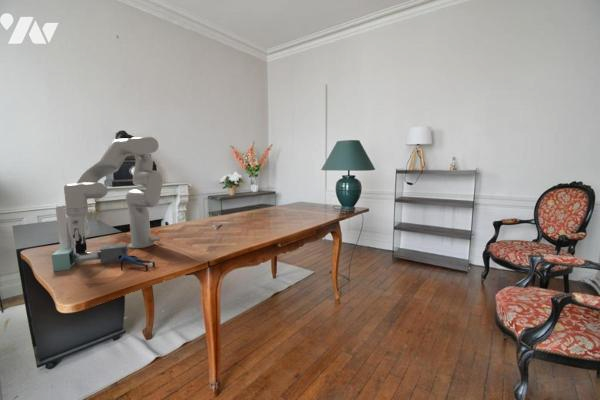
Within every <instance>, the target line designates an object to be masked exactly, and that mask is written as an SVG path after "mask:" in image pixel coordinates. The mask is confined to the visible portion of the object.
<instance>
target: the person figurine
mask: <svg viewBox="0 0 600 400" xmlns="http://www.w3.org/2000/svg"><path fill="white" fill-rule="evenodd" d="M118 258H119V259H120V260H121V262H120V270H121V271H123V270H124V269H123V263H131V264H132V265H135V266H142V267H144V268H145V271H146V272H147V271H149V267H151V268H155V267H156V262H155V261H151V260H147V259H145V260H144V259H141V258H138V256H136V255H129V254H128V255H126V256H121V255H119V256H118ZM146 263H147V264H146Z"/></svg>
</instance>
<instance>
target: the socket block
mask: <svg viewBox="0 0 600 400" xmlns="http://www.w3.org/2000/svg"><path fill="white" fill-rule="evenodd" d="M69 254H74V248H65V249H60V248H57V250H56V251H54V253H52V254H51V260H52V270H53V272H59V271H65V270H66V271H67V270H71V269H72V267H73V266H74V265H75V263H70V255H69Z"/></svg>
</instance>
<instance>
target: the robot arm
mask: <svg viewBox="0 0 600 400" xmlns="http://www.w3.org/2000/svg"><path fill="white" fill-rule="evenodd" d="M159 147H160V146H159V142H158V140H157V138H155V137H153V136H137V137H131V138H117V139H114V140H113V141H112V142H111V143H110V144H109V146H108V147H107V149H106V150H105V152H104V154H103V155H102V156H101V158H100V159H99V161H98V162H96V163H95V164H93V165H92V166H90V167H89V168H88V169H87V170H86V171H84V172H83V173H82V175H81V176H79V177H80V178H79V179H78V180H77V182H76V183H67V184H65V185H64V187H63V193H64V201H65V205H66V213H67V216H70V229H71V237H72V238H75V249H76V253H84V252H86V251H87V248H88V247H87V240H86V237H87V236H88V235H89V234H90V227H89V221H88V216H87V215H89V206H88V205H89V204H88V199H92V200H93V199H96V200H97V199H98V200H99V199H103V198H105V196H106V195H107V194H108V192H109V191H108V190H109V189H108V187H107V186H106V184H104V183H101V182H99V181H100V180H101V179H103V178H105V177H107V176H110V175H112V174H114V173H117V171H119V170H120V168H121V166H122V165H123V163H124V162H125V160H126V158H127V157H130V156H134V159H135V163H134V164H135V165H134V170H133V175H132V183H133V185H134V186H135V187H138V188H139V189H138V188H137V189H136V188H134V189H131V190H129V191H127V193H126V194H125V195H126V196H125V202H126V205H127V206H126V207H127V209H128V214H129V215H128V216H129V229H130V230H129V231H130V243H128V244H127V248H129V249H144V248H148V247H152V246H153V245H154V244H155V242H159V241H160V237H158V236H156V237H152V234H151V225H150V224H151V223H150V212H149V209H148V208H154V207H156V206H157V205H158V204H159V202H160V199H161V194H162V188H163V183H164V182H163V181H164V180H163V176H162V175H161V173H160V172H159V171H157V170H154V169H153V166H154V162H153V161H154V160H153V158H152V156H151V154H153V153H155V152H157V151H158V149H159ZM141 188H142V189H141ZM143 188H145V189H143ZM83 240H84V244H85V245H84V244H83Z"/></svg>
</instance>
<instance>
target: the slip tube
mask: <svg viewBox="0 0 600 400" xmlns="http://www.w3.org/2000/svg"><path fill="white" fill-rule="evenodd" d="M83 244H84V240H83ZM84 245H85V244H84ZM69 255H70V263H83V262H91V261H99V260H100V261H101V257H100V250H95V251H87V252H86V251H85V252H84V253H76V254H69Z"/></svg>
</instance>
